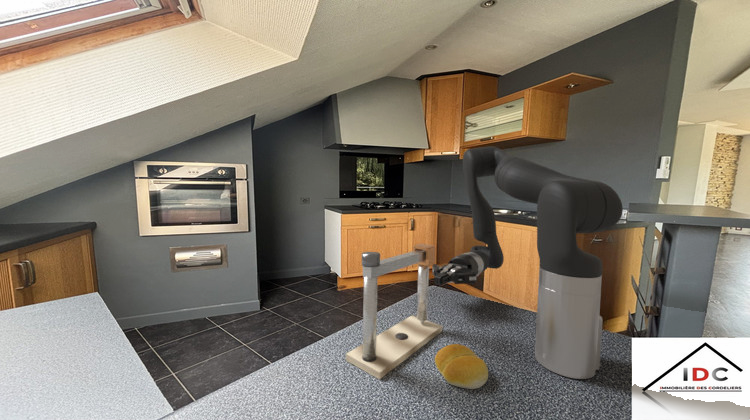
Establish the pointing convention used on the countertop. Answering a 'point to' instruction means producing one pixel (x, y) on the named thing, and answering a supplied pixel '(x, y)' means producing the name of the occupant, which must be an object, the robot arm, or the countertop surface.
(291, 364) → the countertop surface
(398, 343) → the plate
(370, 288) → the metal gantry frame
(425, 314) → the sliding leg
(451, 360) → the bread roll
